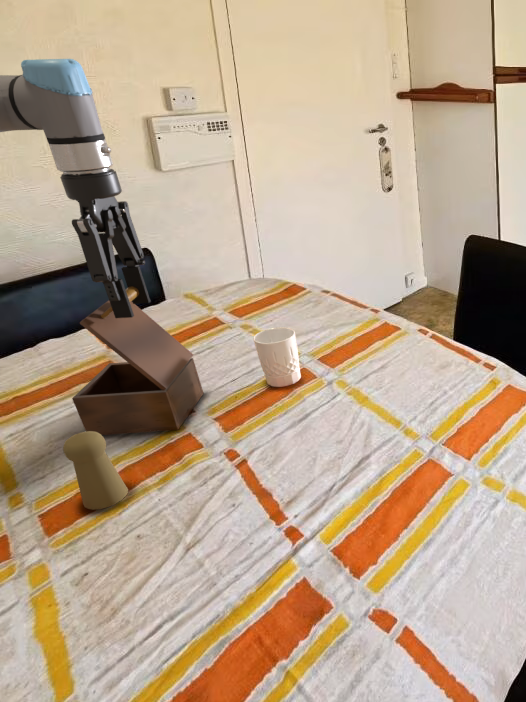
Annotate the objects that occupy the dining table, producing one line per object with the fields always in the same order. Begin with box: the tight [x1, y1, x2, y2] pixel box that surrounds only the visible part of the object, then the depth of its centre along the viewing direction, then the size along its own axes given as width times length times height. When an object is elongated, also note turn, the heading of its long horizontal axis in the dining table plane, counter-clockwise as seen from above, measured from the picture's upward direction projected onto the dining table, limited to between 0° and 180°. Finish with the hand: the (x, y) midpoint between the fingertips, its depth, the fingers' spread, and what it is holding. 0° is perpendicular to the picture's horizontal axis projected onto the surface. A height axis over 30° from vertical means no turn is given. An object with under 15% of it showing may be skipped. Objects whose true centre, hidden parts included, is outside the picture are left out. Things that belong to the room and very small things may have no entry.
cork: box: [62, 431, 129, 511], centre depth 93 cm, size 6×6×11 cm
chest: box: [71, 357, 204, 436], centre depth 116 cm, size 16×14×8 cm
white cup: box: [253, 326, 302, 388], centre depth 126 cm, size 8×8×10 cm
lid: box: [79, 287, 194, 391], centre depth 110 cm, size 16×14×6 cm
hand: (133, 309), depth 108 cm, fingers closed on lid, 6 cm apart
